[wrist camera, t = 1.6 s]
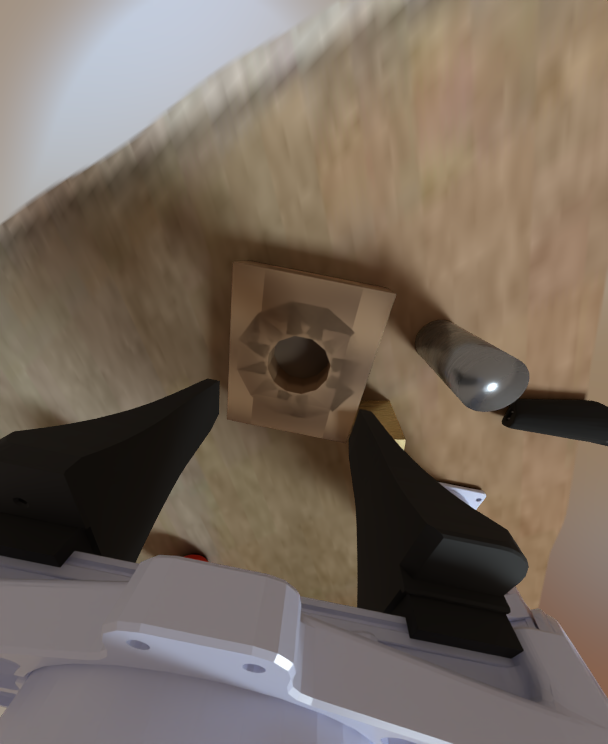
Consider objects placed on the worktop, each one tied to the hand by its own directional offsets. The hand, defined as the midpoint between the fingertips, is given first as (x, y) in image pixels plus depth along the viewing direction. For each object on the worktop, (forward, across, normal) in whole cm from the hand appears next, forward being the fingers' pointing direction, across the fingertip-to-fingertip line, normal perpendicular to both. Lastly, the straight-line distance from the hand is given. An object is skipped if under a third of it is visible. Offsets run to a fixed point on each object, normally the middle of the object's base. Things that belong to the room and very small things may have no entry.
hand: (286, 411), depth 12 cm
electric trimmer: (+9, -25, +1) cm, 26 cm away
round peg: (+8, -10, -3) cm, 13 cm away
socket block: (+8, 0, 0) cm, 8 cm away
